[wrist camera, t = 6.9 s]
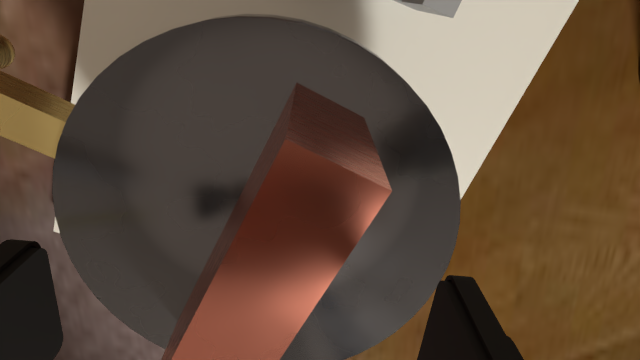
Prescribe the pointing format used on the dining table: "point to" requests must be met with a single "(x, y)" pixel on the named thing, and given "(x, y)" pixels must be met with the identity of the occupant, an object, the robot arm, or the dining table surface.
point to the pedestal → (378, 50)
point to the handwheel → (247, 189)
